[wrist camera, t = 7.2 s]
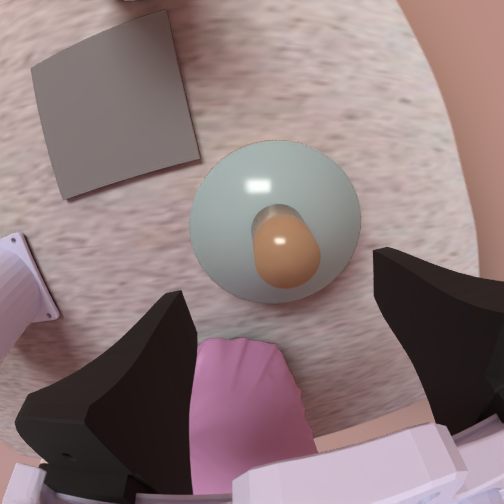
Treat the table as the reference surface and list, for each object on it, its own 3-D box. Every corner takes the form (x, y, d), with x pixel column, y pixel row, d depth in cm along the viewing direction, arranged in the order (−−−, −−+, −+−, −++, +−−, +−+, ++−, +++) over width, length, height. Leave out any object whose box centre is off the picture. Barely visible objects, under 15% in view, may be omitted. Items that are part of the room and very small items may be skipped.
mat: (65, 198, 19) (62, 200, 19) (33, 68, 15) (30, 68, 15) (200, 157, 19) (199, 158, 18) (167, 10, 15) (165, 9, 14)
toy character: (157, 320, 24) (94, 587, 6) (290, 299, 23) (361, 592, 5) (199, 414, 29) (190, 603, 11) (302, 400, 28) (340, 594, 10)
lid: (222, 312, 20) (220, 361, 16) (167, 170, 16) (144, 191, 12) (365, 271, 19) (394, 312, 15) (337, 121, 15) (370, 126, 11)
